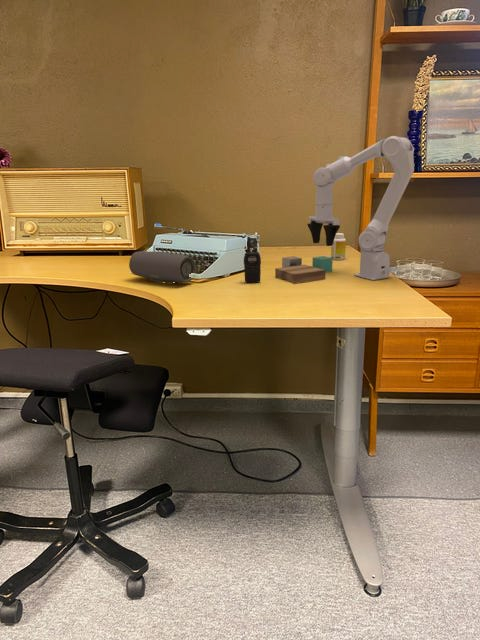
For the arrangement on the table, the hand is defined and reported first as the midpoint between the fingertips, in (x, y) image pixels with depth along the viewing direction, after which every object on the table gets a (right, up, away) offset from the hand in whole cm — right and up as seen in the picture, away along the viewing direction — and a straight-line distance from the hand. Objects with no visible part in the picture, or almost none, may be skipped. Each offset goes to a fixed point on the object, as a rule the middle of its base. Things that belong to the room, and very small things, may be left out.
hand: (322, 244), depth 166 cm
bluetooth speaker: (-55, -14, -7) cm, 57 cm away
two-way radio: (-25, -14, -11) cm, 31 cm away
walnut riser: (-9, -12, -7) cm, 17 cm away
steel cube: (-10, -9, +4) cm, 14 cm away
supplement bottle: (+11, -2, +25) cm, 27 cm away
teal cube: (0, -9, +3) cm, 10 cm away
